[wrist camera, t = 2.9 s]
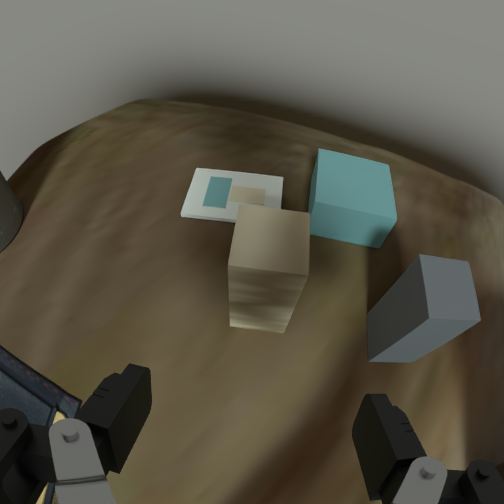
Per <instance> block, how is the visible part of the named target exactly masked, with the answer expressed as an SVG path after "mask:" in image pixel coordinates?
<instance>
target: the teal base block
mask: <svg viewBox="0 0 504 504" xmlns="http://www.w3.org/2000/svg"><path fill="white" fill-rule="evenodd" d="M308 213H310V235H315V236H320V237H325V238H330V239H335V240H340V241H345V242H350V243H355V244H359V245H364V246H369V247H374V248H378V249H379V248H380V247H381V245H382V244H383V242H384V240H385V239H386V237H387V236H388V234H389V232H390V231H391V229H392V227H393V226H394V224H395V223H396V221H397V215H396V207H395V200H394V194H393V187H392V181H391V175H390V170H389V165H387V164H383V163H379V162H375V161H371V160H367V159H363V158H359V157H355V156H351V155H347V154H342V153H338V152H333V151H329V150H324V149H319V150H318V154H317V158H316V162H315V166H314V170H313V174H312V178H311V186H310V196H309V206H308Z"/></svg>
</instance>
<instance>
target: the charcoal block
mask: <svg viewBox="0 0 504 504" xmlns="http://www.w3.org/2000/svg"><path fill="white" fill-rule="evenodd" d="M479 321H481V318H480V312H479V307H478V301H477V296H476V292H475V287H474V282H473V278H472V274H471V270H470V266H469V262H466V261H460V260H454V259H448V258H441V257H435V256H428V255H422V254H419V255H418V256H417V257H416V259H415V260H414V261H413V262H412V263H411V265H410V266H409V267H408V268H407V269H406V271H405V272H404V273H403V274H402V275H401V276H400V278H399V279H398V280H397V281H396V282H395V283H394V285H393V286H392V287H391V288H390V289H389V290H388V291H387V292H386V294H385V295H384V296H383V297H382V298H381V299H380V300H379V301H378V302H377V304H376V305H375V306H374V307H373V308H372V309H371V310H370V311H369V312H368V313H367V332H368V362H413V361H415V360H417V359H419V358H421V357H423V356H424V355H426V354H428V353H430V352H431V351H433V350H435V349H437V348H438V347H440V346H442V345H443V344H445V343H447V342H448V341H450V340H452V339H453V338H455V337H456V336H458V335H460V334H461V333H463V332H464V331H466V330H467V329H469V328H470V327H472V326H473V325H475V324H476V323H478V322H479Z"/></svg>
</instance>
